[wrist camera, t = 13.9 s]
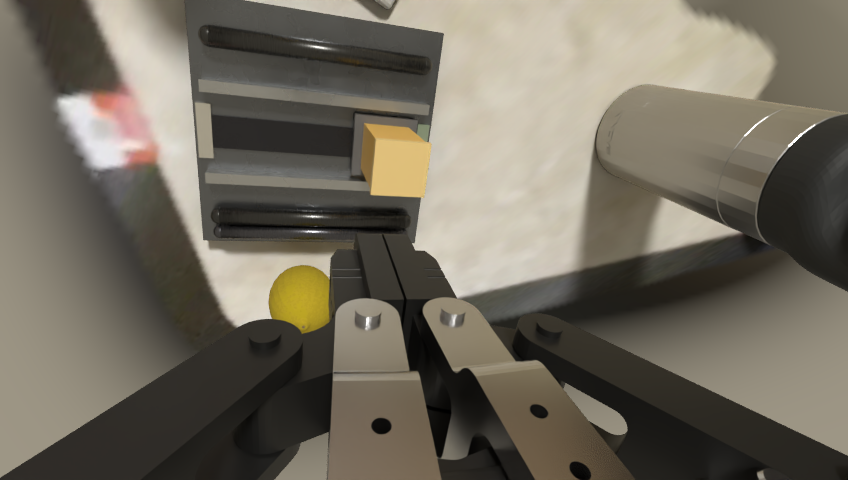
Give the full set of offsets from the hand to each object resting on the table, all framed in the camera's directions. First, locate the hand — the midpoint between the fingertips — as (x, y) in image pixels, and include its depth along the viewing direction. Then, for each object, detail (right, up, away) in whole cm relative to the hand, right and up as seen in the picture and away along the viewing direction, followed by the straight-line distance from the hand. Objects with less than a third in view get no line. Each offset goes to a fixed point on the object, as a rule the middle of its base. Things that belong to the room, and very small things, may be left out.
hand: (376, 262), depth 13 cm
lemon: (-10, -3, +28) cm, 30 cm away
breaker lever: (-2, +8, +23) cm, 24 cm away
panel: (-7, +9, +23) cm, 26 cm away
